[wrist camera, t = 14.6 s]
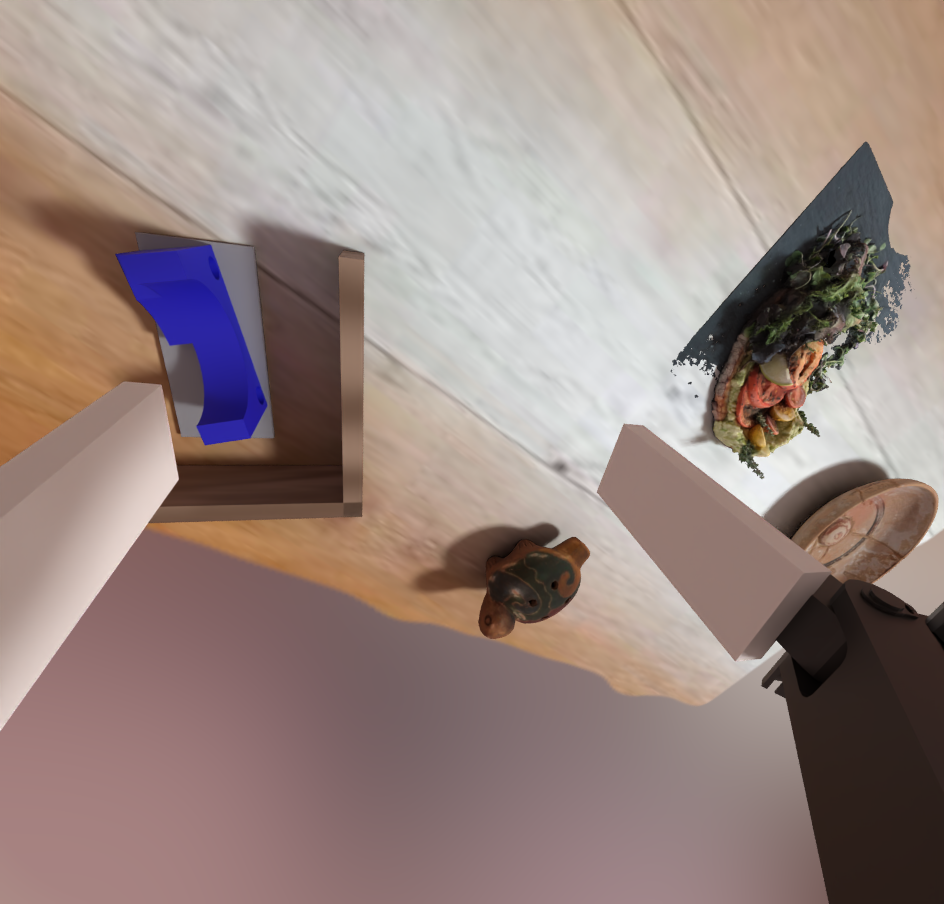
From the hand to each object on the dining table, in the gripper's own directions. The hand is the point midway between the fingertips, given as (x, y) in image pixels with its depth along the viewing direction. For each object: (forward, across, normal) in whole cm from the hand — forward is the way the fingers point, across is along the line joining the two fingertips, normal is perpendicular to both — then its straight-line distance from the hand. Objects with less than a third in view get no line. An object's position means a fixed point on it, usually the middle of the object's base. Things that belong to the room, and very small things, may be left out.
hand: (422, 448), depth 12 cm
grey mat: (+24, -13, -5) cm, 28 cm away
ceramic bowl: (+24, +68, -23) cm, 76 cm away
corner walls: (+24, -11, -7) cm, 27 cm away
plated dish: (+25, +42, +1) cm, 49 cm away
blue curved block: (+24, -13, -4) cm, 27 cm away
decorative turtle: (+24, +18, -28) cm, 41 cm away
